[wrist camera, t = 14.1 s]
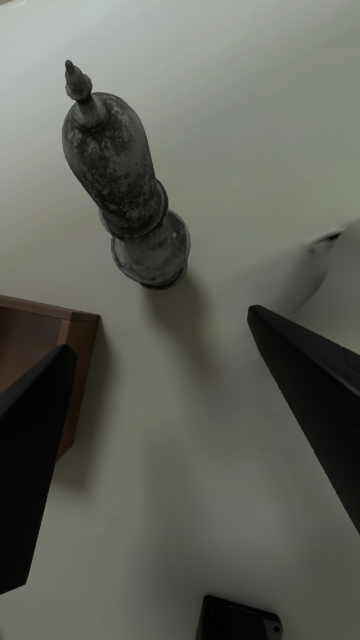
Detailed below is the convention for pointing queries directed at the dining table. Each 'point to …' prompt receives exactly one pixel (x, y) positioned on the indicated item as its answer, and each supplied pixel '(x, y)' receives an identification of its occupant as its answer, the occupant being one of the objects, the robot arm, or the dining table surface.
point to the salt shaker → (123, 184)
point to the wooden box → (45, 346)
